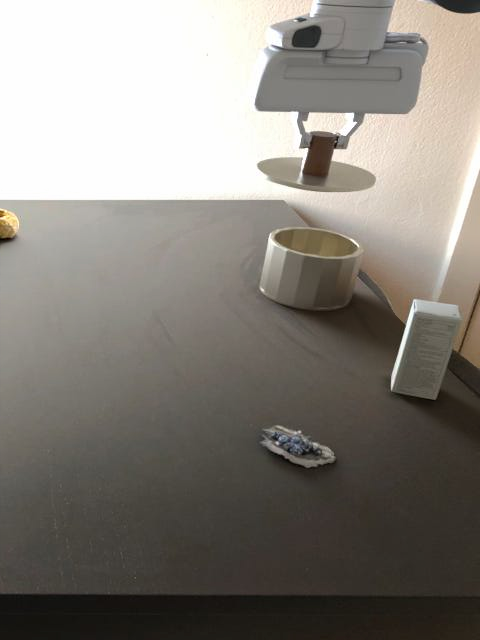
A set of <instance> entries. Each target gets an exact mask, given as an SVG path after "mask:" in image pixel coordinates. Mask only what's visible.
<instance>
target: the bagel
mask: <svg viewBox="0 0 480 640" xmlns="http://www.w3.org/2000/svg"><path fill="white" fill-rule="evenodd" d="M19 230H20V222H19V218H18V217H17V215H15V213H13V212H12V211H7V210H6V209H2V208H0V239H12V238H14V237H15V236H16V234H18V231H19Z"/></svg>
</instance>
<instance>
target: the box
mask: <svg viewBox="0 0 480 640" xmlns="http://www.w3.org/2000/svg"><path fill="white" fill-rule="evenodd" d="M462 323H463V316H462V312H461V309H460V306H459V305H458V304H450V303H445V302H444V303H443V302H436V301H431V300H423V299H417V298H416V299H413V301H412V304H411V308H410V311H409V315H408V317H407V321H406V325H405V328H404V332H403V336H402V339H401V342H400V345H399V350H398V353H397V356H396V360H395V363H394V366H393V370H392V373H391V377H390V378H391V379H390V391H391V393H395V394H401V395H406V396H411V397H417V398H420V399H428V400H434V401H436V400H437V398H438V395H439V392H440V389H441V386H442V384H443V380H444V376H445V373H446V370H447V368H448V364H449V361H450V358H451V355H452V352H453V349H454V346H455V343H456V340H457V337H458V335H459V331H460V328H461V325H462Z"/></svg>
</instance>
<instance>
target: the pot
mask: <svg viewBox="0 0 480 640" xmlns="http://www.w3.org/2000/svg"><path fill="white" fill-rule="evenodd" d="M364 254H365V245H364V244H363V243H361V242H360V241H359V240H358V239H356V238H354V237H351V236H349V235H347V234H344V233H341V232H337V231H334V230H330V229H326V228H325V229H324V228H317V227H309V226H306V227H305V226H290V227H283V228H278V229H276V230H273V231H272V232H270V234H269V237H268V241H267V246H266V251H265V256H264V260H263V266H262V271H261V276H260V280H259V290H260V292H261V293H262V294H263V295H264V296H265V297H266V298H268V299H269V300H271V301H273V302H275V303H278V304H280V305H283V306H286V307H290V308H293V309H297V310H298V309H299V310H304V311H314V312H331V311H336V310H340V309H343V308H345V307H347V306H348V305H350V302H351V300H352V297H353V295H354V291H355V286H356V283H357V279H358V276H359V272H360V268H361V265H362V261H363V258H364Z"/></svg>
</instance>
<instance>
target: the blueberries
mask: <svg viewBox="0 0 480 640" xmlns="http://www.w3.org/2000/svg"><path fill="white" fill-rule="evenodd" d="M261 431H262V432H263V433H261V437H262V438H263V439H262V440H260V442H259V444H262V445H261V447H266V448H267V449H268V450H270V451H271V452H273V453H276V454H278V455H280V456H281V455H282V456H283V457H284V459H288V460H289V461H290V462H291V463H293V464H296V465H300V466H303V467H304V468H306V469H309V468H311V467H313V468H314V467H315V468H317V467H319V465H321V466H322V465H326V464H328V463H329V464H332V463H334V462H336V459H337V456H335V452H333V451H332V450H331V448H329V446H325V445H324V444H320V443H319V442H318V441H312V440H310V439H308V438H311V437H312V436H308V435H307V436H305V435H304V434H302V430H301V429H299V430H297V431H296V430H295V429H292V428H291V427H289V426H286V425H273V426H271V427H268V428H261Z"/></svg>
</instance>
